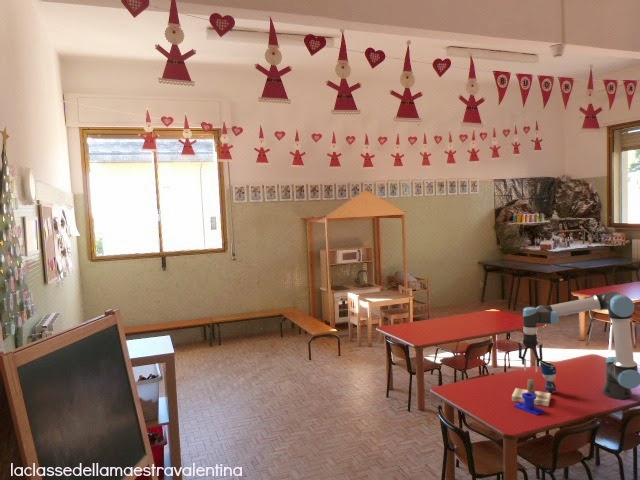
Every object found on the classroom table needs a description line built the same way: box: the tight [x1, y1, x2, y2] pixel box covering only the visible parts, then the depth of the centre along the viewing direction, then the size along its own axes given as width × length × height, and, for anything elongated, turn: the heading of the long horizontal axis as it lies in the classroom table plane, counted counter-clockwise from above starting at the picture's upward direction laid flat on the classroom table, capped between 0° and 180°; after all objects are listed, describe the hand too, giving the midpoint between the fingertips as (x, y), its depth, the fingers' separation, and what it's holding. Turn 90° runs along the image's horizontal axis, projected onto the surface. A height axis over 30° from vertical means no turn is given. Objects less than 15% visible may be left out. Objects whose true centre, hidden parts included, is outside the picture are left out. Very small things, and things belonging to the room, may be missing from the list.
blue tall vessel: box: [539, 360, 557, 394], centre depth 298 cm, size 13×9×20 cm
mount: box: [513, 393, 546, 416], centre depth 275 cm, size 15×8×9 cm, turn 31°
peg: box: [526, 378, 536, 394], centre depth 289 cm, size 4×4×12 cm
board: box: [511, 387, 552, 407], centre depth 289 cm, size 20×14×3 cm
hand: (530, 370), depth 288 cm, fingers open, 6 cm apart
